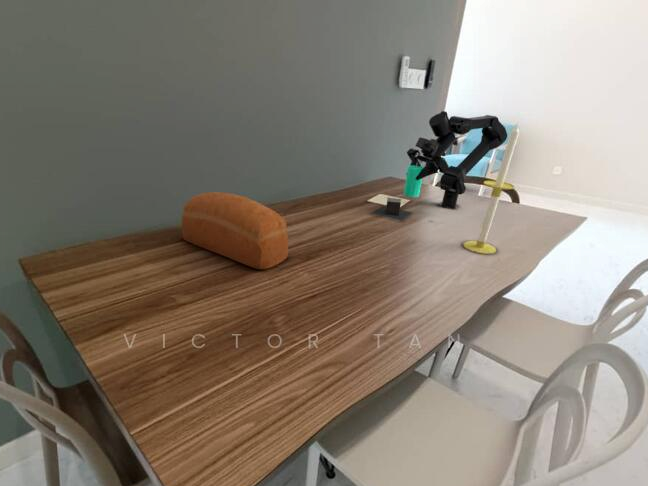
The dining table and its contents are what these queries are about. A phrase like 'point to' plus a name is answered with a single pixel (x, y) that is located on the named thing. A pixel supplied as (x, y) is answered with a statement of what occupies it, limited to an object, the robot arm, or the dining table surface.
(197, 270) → the dining table surface
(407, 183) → the candle
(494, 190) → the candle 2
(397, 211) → the charcoal block
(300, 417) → the dining table surface
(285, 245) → the bread
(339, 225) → the dining table surface
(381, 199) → the cream pad
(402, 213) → the charcoal mat
